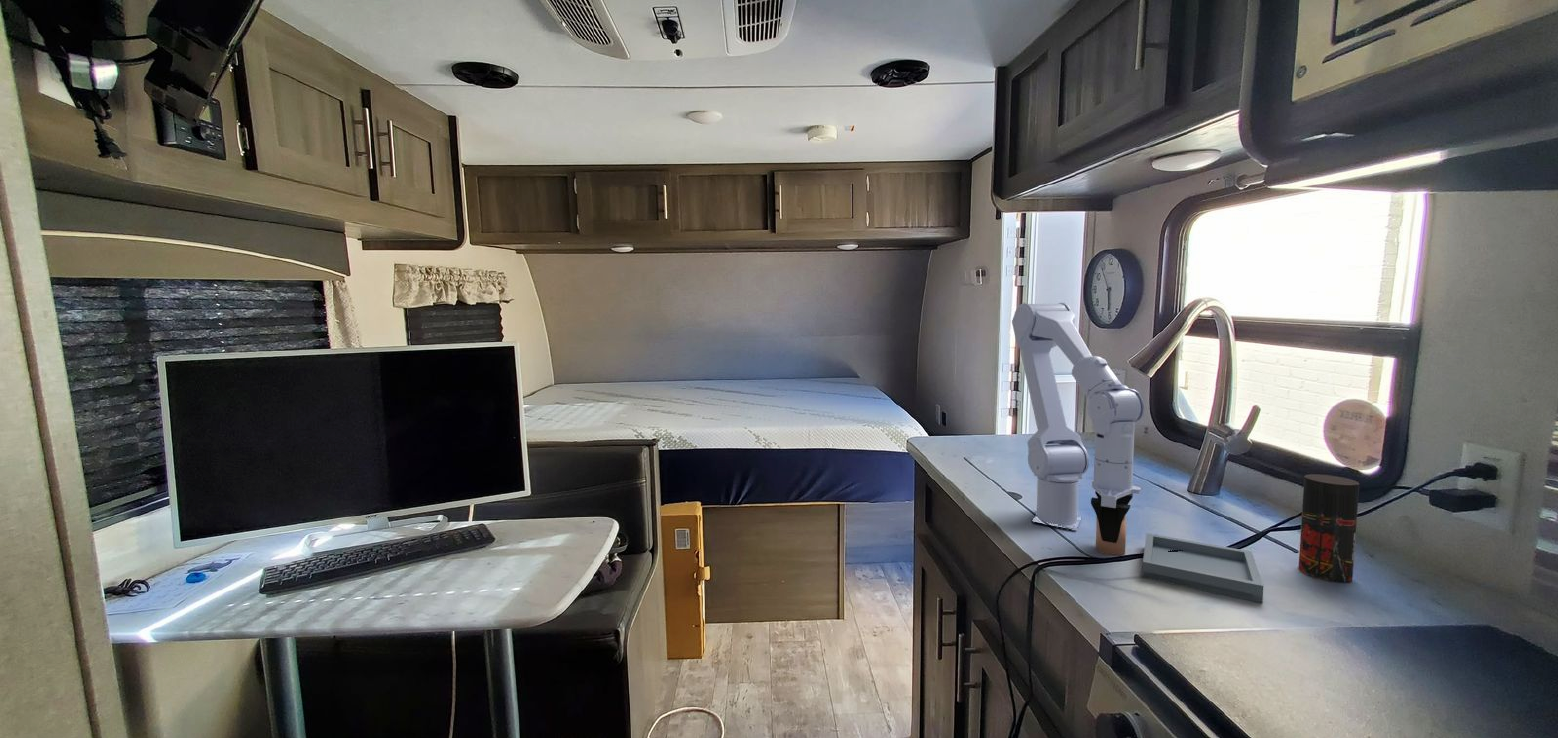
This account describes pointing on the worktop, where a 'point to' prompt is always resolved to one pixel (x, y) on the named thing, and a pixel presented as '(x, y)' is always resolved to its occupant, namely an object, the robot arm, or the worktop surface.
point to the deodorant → (1328, 527)
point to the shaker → (1111, 547)
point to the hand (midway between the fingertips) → (1110, 536)
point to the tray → (1202, 567)
